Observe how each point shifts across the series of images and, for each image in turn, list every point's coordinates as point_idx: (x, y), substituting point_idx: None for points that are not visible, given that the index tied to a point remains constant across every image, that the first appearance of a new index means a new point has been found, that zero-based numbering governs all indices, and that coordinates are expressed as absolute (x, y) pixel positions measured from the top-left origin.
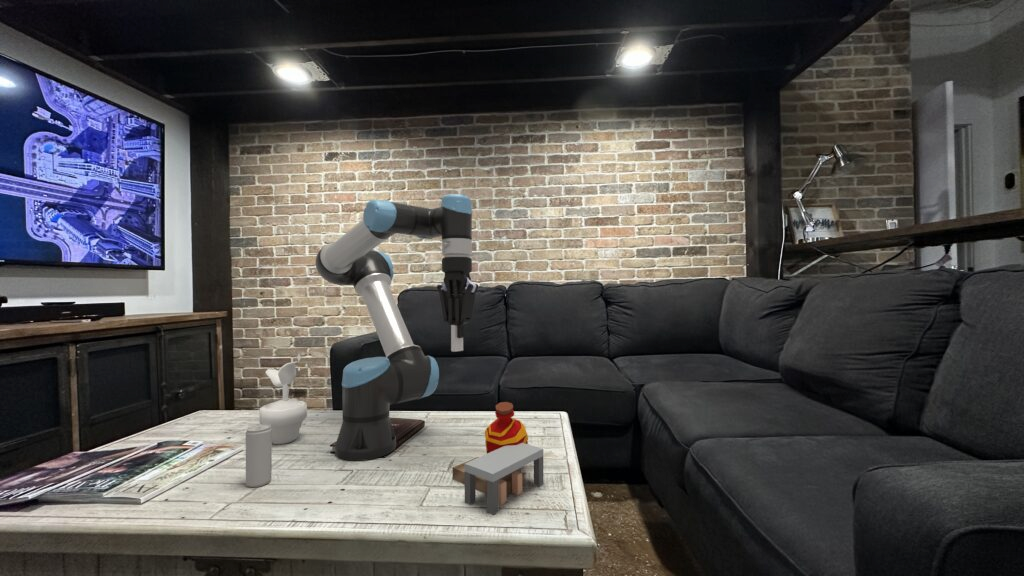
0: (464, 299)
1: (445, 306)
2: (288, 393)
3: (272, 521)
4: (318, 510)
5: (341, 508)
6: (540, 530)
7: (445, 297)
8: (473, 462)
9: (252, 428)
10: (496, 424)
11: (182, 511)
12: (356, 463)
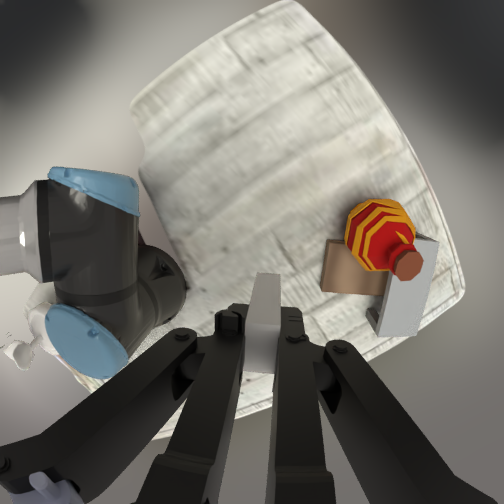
0: (368, 487)
1: (157, 429)
2: (36, 338)
3: (240, 410)
4: (254, 390)
5: (268, 381)
6: (440, 308)
7: (113, 464)
8: (385, 329)
9: None
10: (383, 261)
11: (174, 421)
12: (180, 318)
